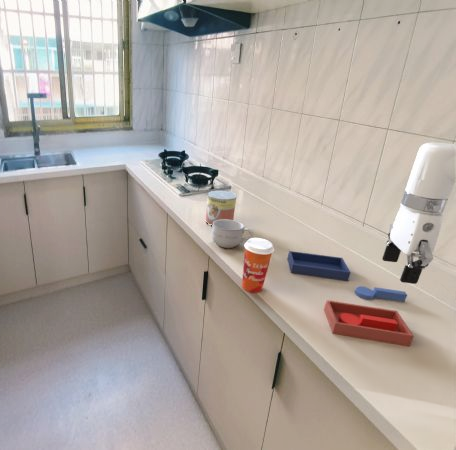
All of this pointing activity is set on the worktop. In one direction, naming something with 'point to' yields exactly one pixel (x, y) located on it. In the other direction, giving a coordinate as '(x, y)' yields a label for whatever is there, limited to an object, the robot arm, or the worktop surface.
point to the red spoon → (369, 321)
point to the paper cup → (256, 263)
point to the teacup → (229, 233)
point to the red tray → (395, 337)
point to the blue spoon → (380, 294)
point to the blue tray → (318, 265)
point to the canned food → (220, 205)
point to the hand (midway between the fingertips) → (398, 271)
